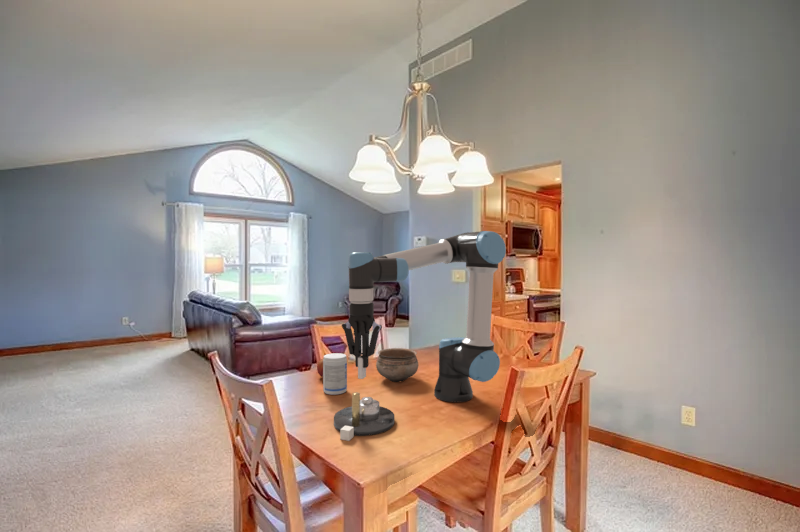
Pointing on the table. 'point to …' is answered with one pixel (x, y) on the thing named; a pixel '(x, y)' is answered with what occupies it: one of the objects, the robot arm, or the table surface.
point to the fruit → (320, 367)
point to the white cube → (347, 433)
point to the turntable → (352, 418)
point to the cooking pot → (397, 363)
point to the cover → (369, 409)
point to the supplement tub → (334, 373)
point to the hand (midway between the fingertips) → (362, 377)
